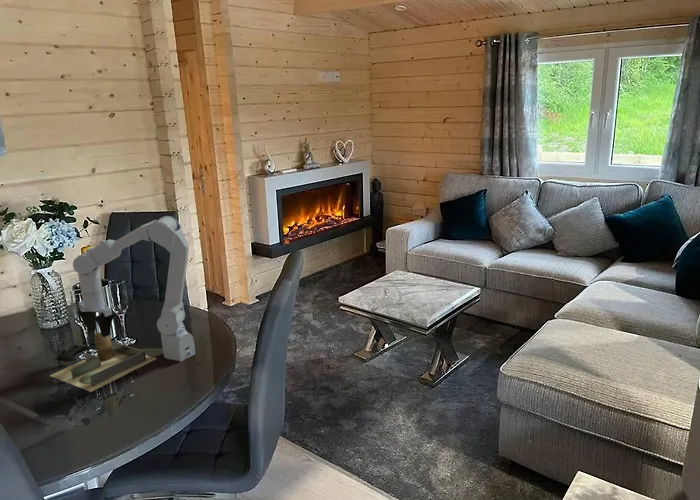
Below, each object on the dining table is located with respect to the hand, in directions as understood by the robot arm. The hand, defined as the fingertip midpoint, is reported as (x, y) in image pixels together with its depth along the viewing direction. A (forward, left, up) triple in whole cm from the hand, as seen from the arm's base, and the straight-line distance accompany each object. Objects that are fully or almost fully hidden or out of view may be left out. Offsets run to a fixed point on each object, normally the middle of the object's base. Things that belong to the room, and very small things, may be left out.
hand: (99, 333), depth 160 cm
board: (-6, +3, -10) cm, 11 cm away
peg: (-1, -1, -9) cm, 8 cm away
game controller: (+12, +2, -10) cm, 16 cm away
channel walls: (-6, +3, -9) cm, 11 cm away
